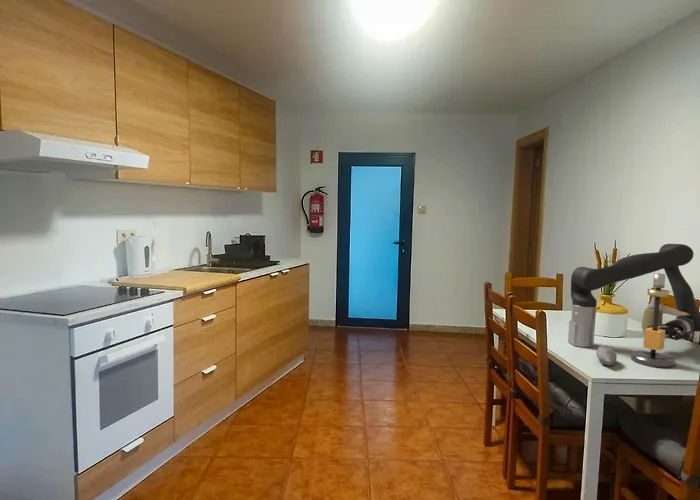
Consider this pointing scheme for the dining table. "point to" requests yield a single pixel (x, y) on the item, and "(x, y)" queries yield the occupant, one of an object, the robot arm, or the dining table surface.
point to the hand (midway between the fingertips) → (662, 335)
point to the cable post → (653, 357)
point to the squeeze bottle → (650, 316)
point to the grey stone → (606, 355)
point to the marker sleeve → (654, 339)
